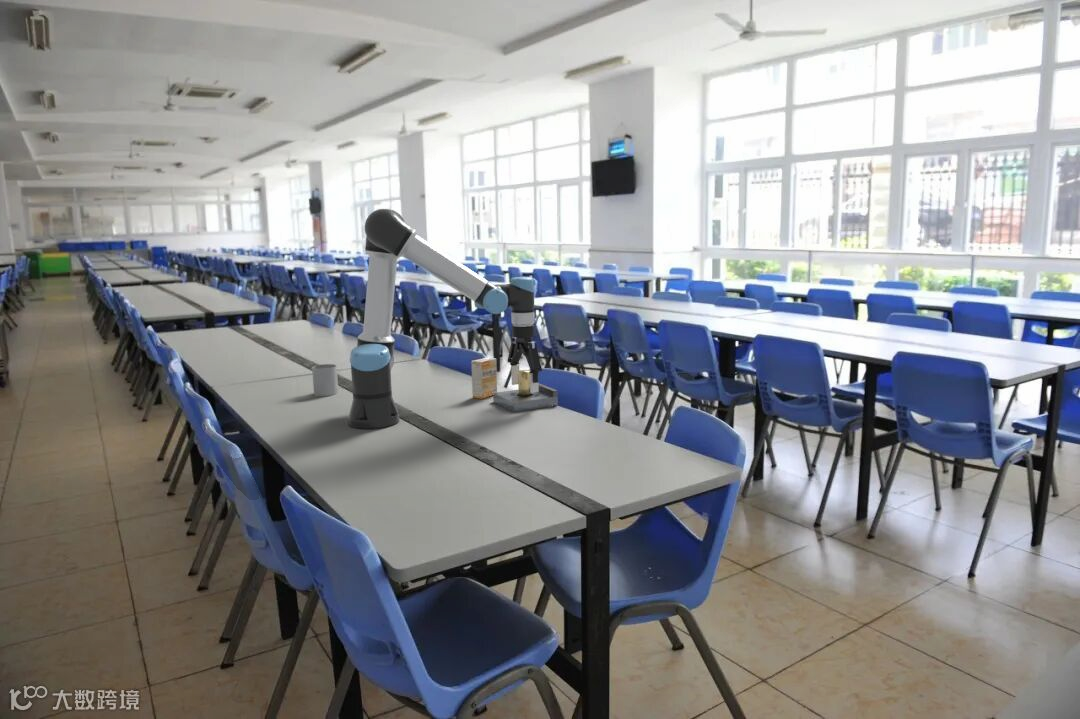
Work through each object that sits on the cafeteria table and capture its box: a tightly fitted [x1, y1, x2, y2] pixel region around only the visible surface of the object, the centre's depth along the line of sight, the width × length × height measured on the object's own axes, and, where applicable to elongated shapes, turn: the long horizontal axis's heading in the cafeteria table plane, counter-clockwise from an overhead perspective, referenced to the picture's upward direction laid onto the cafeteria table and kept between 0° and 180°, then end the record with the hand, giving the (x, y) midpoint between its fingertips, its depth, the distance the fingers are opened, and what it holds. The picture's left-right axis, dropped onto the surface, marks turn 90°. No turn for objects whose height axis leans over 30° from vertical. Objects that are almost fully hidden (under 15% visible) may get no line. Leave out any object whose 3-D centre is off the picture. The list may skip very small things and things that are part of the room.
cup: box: [311, 363, 339, 397], centre depth 269 cm, size 8×8×10 cm
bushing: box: [517, 369, 532, 397], centre depth 248 cm, size 4×4×11 cm
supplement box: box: [471, 357, 498, 400], centre depth 260 cm, size 8×5×13 cm, turn 143°
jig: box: [492, 382, 559, 413], centre depth 249 cm, size 16×16×5 cm
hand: (524, 388), depth 248 cm, fingers open, 13 cm apart
